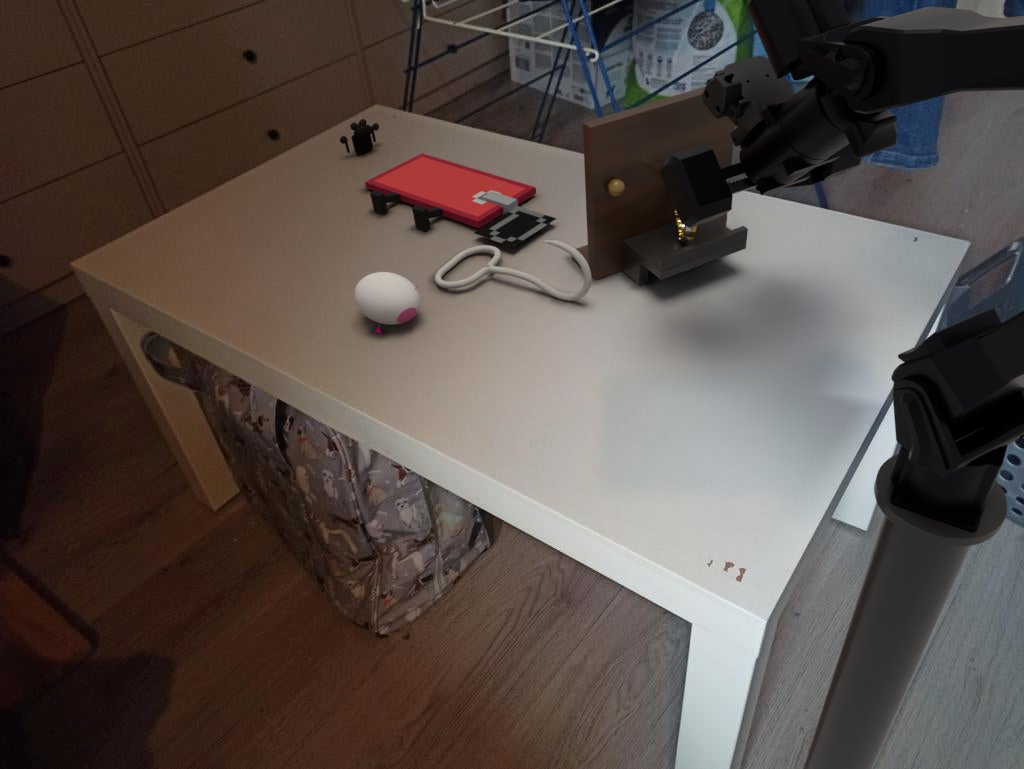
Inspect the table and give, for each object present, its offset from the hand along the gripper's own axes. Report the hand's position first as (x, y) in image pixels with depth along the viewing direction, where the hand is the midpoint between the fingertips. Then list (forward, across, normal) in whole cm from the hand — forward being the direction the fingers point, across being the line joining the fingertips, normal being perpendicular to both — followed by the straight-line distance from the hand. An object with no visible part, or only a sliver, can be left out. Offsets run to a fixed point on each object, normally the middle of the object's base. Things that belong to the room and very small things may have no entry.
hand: (718, 198), depth 79 cm
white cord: (+18, +17, -1) cm, 25 cm away
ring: (+9, 0, +1) cm, 9 cm away
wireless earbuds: (+51, +20, -35) cm, 65 cm away
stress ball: (+19, +31, -3) cm, 37 cm away
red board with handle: (+33, +15, -17) cm, 40 cm away
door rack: (+14, 0, +2) cm, 14 cm away
